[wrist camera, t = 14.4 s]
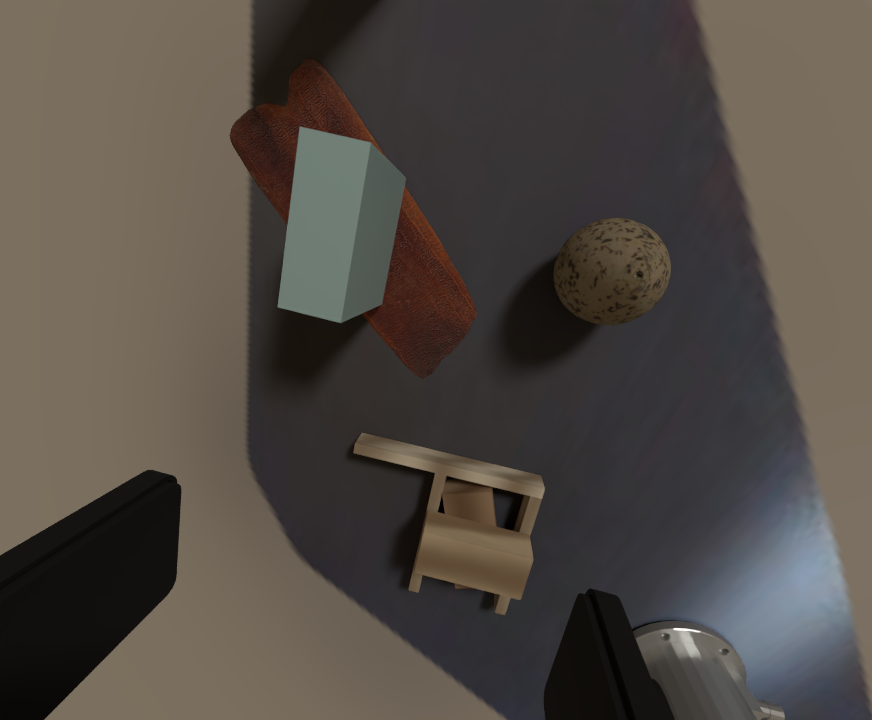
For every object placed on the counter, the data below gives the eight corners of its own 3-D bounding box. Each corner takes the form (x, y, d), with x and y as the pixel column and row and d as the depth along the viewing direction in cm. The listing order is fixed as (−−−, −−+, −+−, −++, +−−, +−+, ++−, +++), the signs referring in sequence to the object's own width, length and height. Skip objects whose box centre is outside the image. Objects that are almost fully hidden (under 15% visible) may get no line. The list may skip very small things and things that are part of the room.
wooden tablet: (227, 139, 33) (215, 132, 32) (317, 53, 31) (308, 41, 30) (413, 394, 37) (410, 400, 36) (506, 334, 35) (507, 338, 33)
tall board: (406, 178, 31) (371, 142, 21) (381, 304, 34) (340, 323, 24) (356, 166, 31) (299, 126, 22) (336, 293, 34) (277, 307, 24)
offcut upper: (428, 509, 36) (423, 532, 33) (529, 534, 36) (533, 559, 33) (419, 548, 37) (414, 572, 34) (517, 572, 37) (520, 600, 34)
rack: (541, 475, 37) (544, 489, 35) (503, 596, 40) (505, 615, 38) (362, 432, 38) (355, 443, 36) (341, 554, 41) (333, 570, 39)
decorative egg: (625, 208, 31) (691, 186, 21) (649, 297, 32) (721, 314, 22) (534, 243, 32) (556, 237, 22) (560, 327, 33) (592, 355, 24)
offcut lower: (491, 474, 38) (492, 492, 35) (501, 564, 40) (502, 588, 37) (445, 476, 39) (442, 494, 36) (457, 565, 41) (455, 588, 38)
